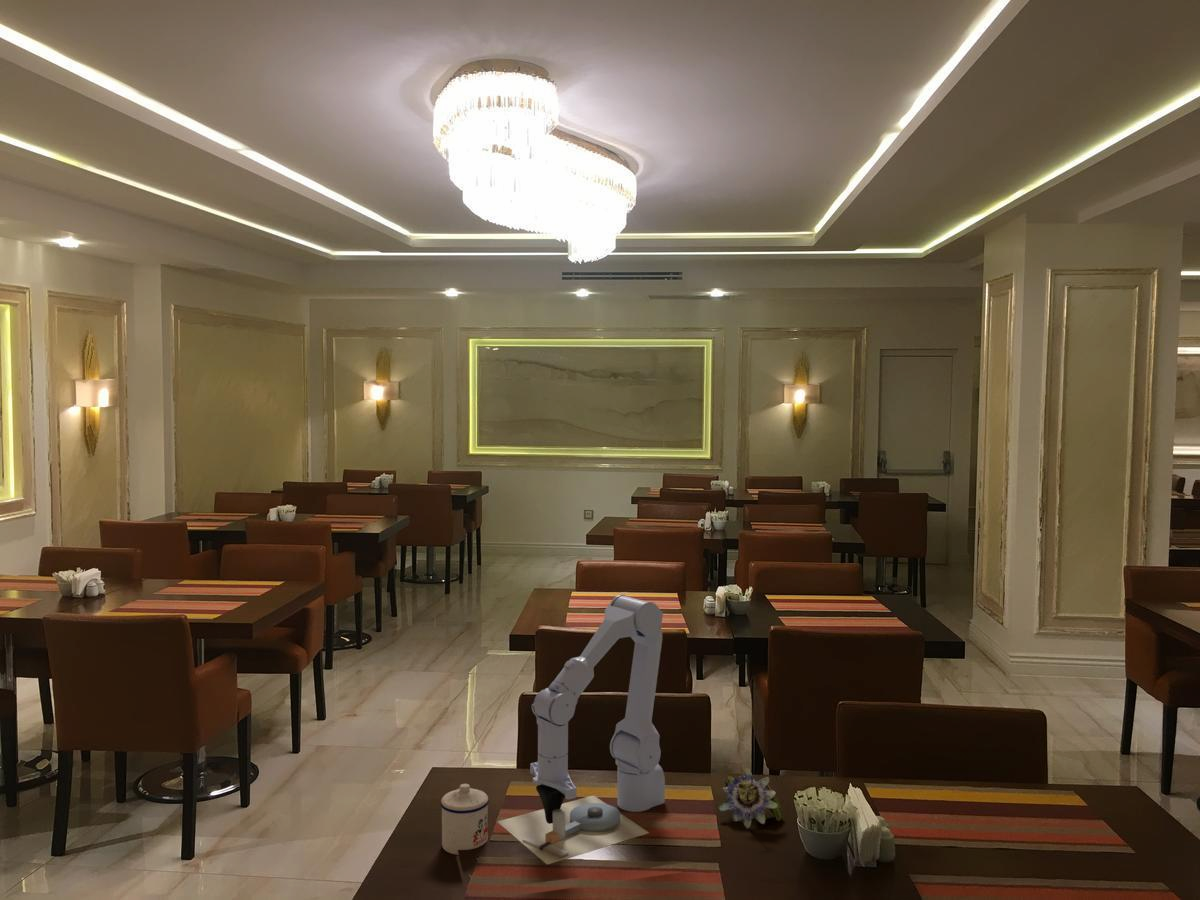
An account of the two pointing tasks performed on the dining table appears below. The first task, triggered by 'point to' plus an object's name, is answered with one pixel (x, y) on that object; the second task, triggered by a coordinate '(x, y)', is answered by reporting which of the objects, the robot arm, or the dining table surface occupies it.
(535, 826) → the cream flat board
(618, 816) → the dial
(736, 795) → the passion flower
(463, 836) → the teacup with lid
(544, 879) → the dining table surface
